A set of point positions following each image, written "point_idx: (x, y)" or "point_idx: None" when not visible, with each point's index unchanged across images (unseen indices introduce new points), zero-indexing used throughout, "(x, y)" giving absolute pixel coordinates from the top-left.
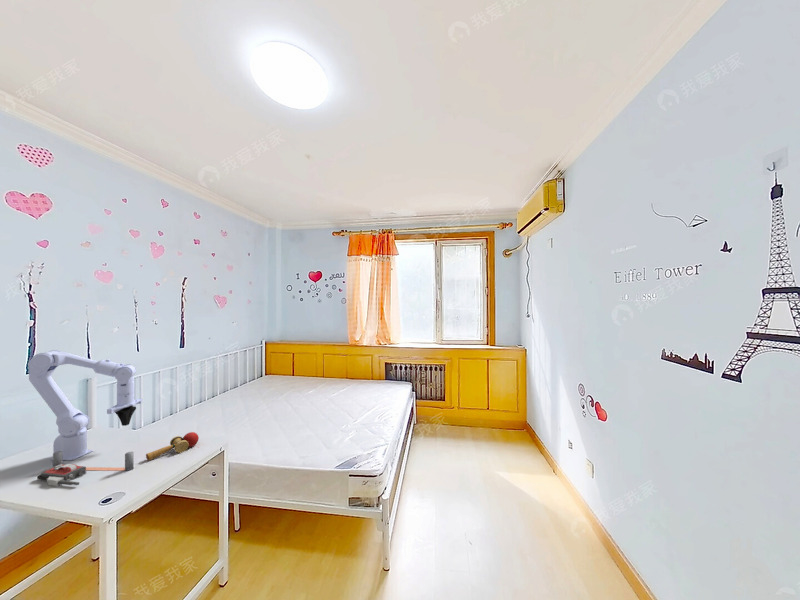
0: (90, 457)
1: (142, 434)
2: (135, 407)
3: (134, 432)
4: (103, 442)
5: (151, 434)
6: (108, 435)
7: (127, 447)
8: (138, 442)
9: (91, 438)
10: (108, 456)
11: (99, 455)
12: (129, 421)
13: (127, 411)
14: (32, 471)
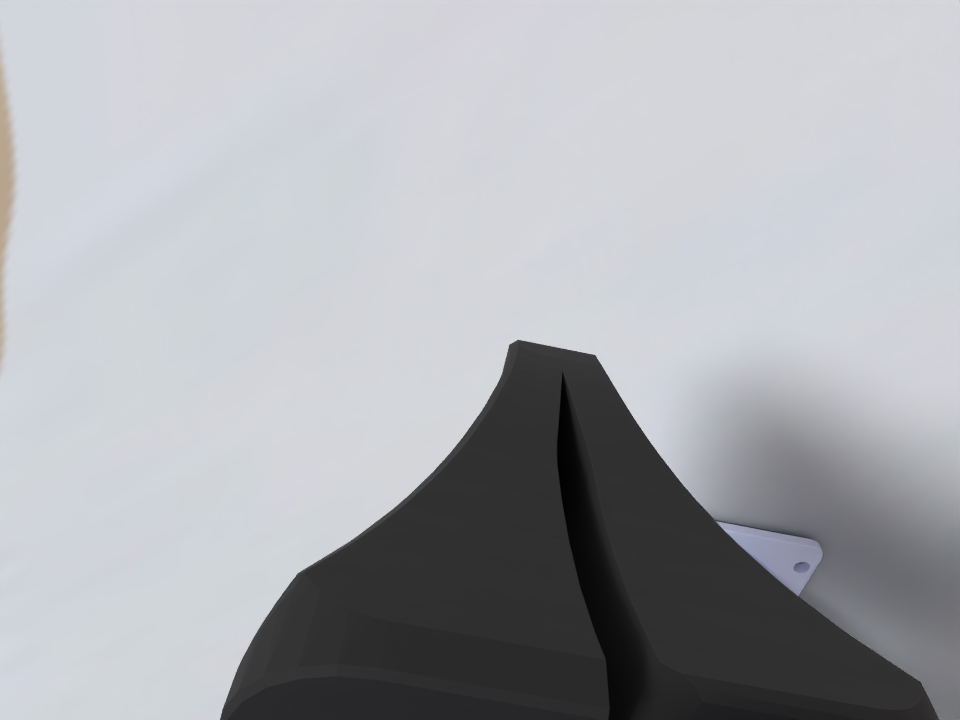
0: (799, 419)
1: (57, 230)
2: (363, 652)
3: (8, 387)
4: (334, 537)
5: (35, 69)
6: (135, 597)
7: (571, 137)
8: (380, 79)
9: (221, 683)
10: (870, 213)
11: (771, 355)
12: (534, 372)
13: (874, 693)
14: (951, 687)
